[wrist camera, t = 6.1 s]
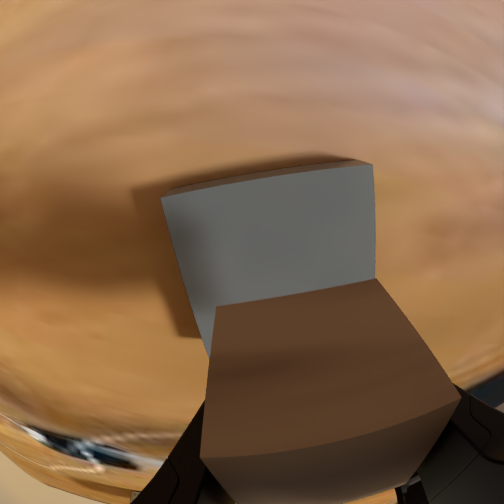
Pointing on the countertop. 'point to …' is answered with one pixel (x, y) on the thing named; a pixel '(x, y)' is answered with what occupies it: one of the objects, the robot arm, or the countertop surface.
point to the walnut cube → (320, 397)
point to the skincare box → (133, 495)
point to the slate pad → (272, 234)
